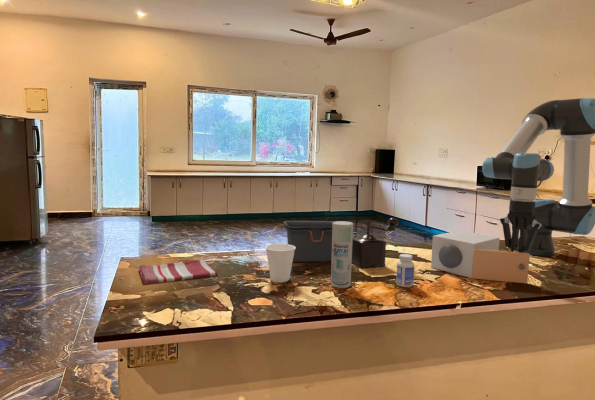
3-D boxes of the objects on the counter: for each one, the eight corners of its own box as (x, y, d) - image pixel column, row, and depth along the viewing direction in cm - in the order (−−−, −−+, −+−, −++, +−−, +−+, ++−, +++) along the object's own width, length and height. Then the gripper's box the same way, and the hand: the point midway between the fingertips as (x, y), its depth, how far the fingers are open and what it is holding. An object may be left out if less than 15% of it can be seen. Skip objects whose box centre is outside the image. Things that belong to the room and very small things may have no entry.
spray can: (351, 282, 138) (354, 221, 136) (350, 288, 132) (352, 225, 129) (331, 280, 139) (333, 220, 137) (329, 287, 133) (331, 224, 130)
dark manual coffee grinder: (361, 269, 154) (363, 220, 151) (348, 261, 164) (349, 215, 162) (398, 266, 159) (401, 218, 157) (383, 258, 169) (385, 214, 167)
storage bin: (332, 254, 174) (333, 219, 172) (344, 264, 159) (345, 227, 157) (281, 255, 170) (282, 220, 168) (288, 266, 155) (289, 228, 153)
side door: (526, 282, 141) (529, 252, 140) (528, 284, 139) (530, 254, 137) (471, 277, 145) (473, 248, 144) (472, 279, 143) (474, 250, 142)
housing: (457, 260, 169) (459, 230, 168) (497, 269, 157) (499, 237, 155) (428, 268, 157) (430, 236, 155) (468, 279, 144) (471, 244, 143)
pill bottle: (414, 283, 138) (416, 254, 137) (411, 288, 133) (413, 258, 132) (397, 281, 140) (399, 252, 139) (394, 285, 136) (395, 256, 134)
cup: (299, 277, 142) (299, 245, 141) (288, 286, 133) (289, 252, 131) (271, 274, 145) (272, 242, 144) (259, 282, 136) (260, 248, 135)
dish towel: (138, 271, 146) (138, 264, 146) (205, 264, 157) (205, 257, 156) (144, 286, 131) (143, 278, 131) (218, 277, 142) (218, 270, 141)
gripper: (497, 198, 143) (491, 266, 146) (538, 203, 133) (531, 276, 136) (508, 197, 148) (502, 263, 151) (548, 201, 138) (541, 272, 141)
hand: (516, 269), depth 143 cm, fingers closed
